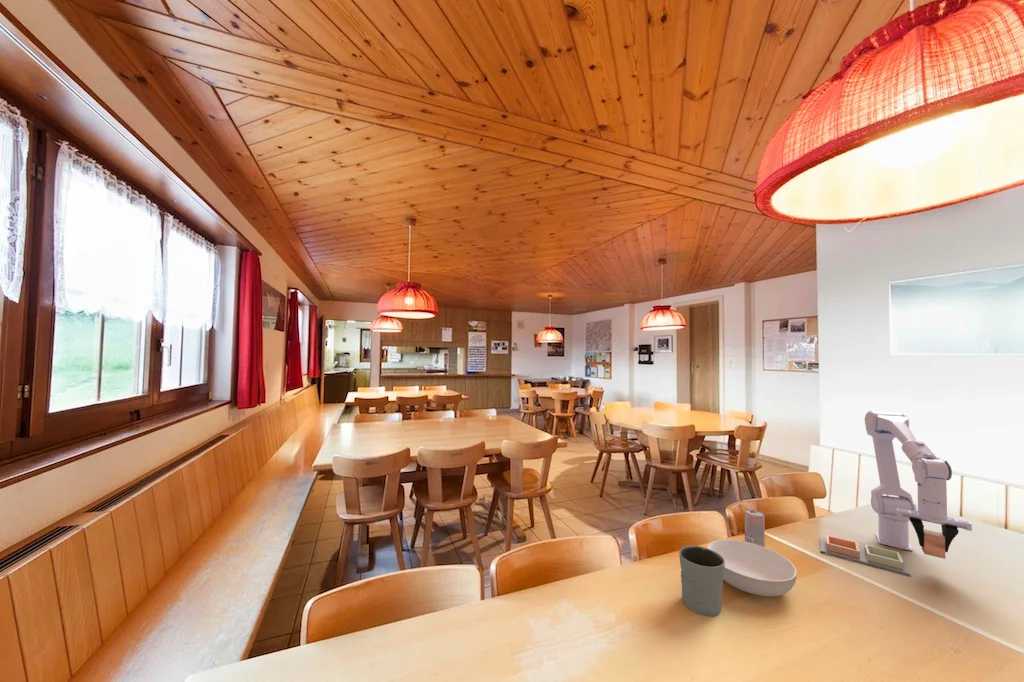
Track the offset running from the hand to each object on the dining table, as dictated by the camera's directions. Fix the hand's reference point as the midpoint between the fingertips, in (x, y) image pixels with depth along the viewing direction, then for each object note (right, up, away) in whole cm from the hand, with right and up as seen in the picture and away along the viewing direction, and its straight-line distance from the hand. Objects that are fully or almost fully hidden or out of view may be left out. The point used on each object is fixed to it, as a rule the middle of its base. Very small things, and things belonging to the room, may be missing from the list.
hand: (933, 548), depth 110 cm
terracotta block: (0, -2, 0) cm, 2 cm away
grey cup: (-76, -5, -17) cm, 78 cm away
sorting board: (-12, -8, +9) cm, 17 cm away
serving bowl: (-58, -6, -7) cm, 58 cm away
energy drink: (-45, -7, +11) cm, 47 cm away
